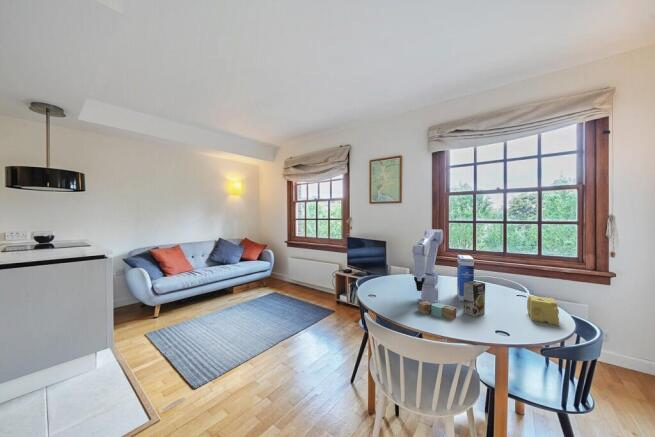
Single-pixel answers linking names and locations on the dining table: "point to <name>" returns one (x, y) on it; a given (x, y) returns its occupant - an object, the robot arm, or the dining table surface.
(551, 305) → the cheese
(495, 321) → the dining table surface
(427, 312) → the digit block one
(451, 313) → the digit block seven
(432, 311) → the plain block
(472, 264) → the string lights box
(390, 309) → the dining table surface
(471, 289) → the coffee box
